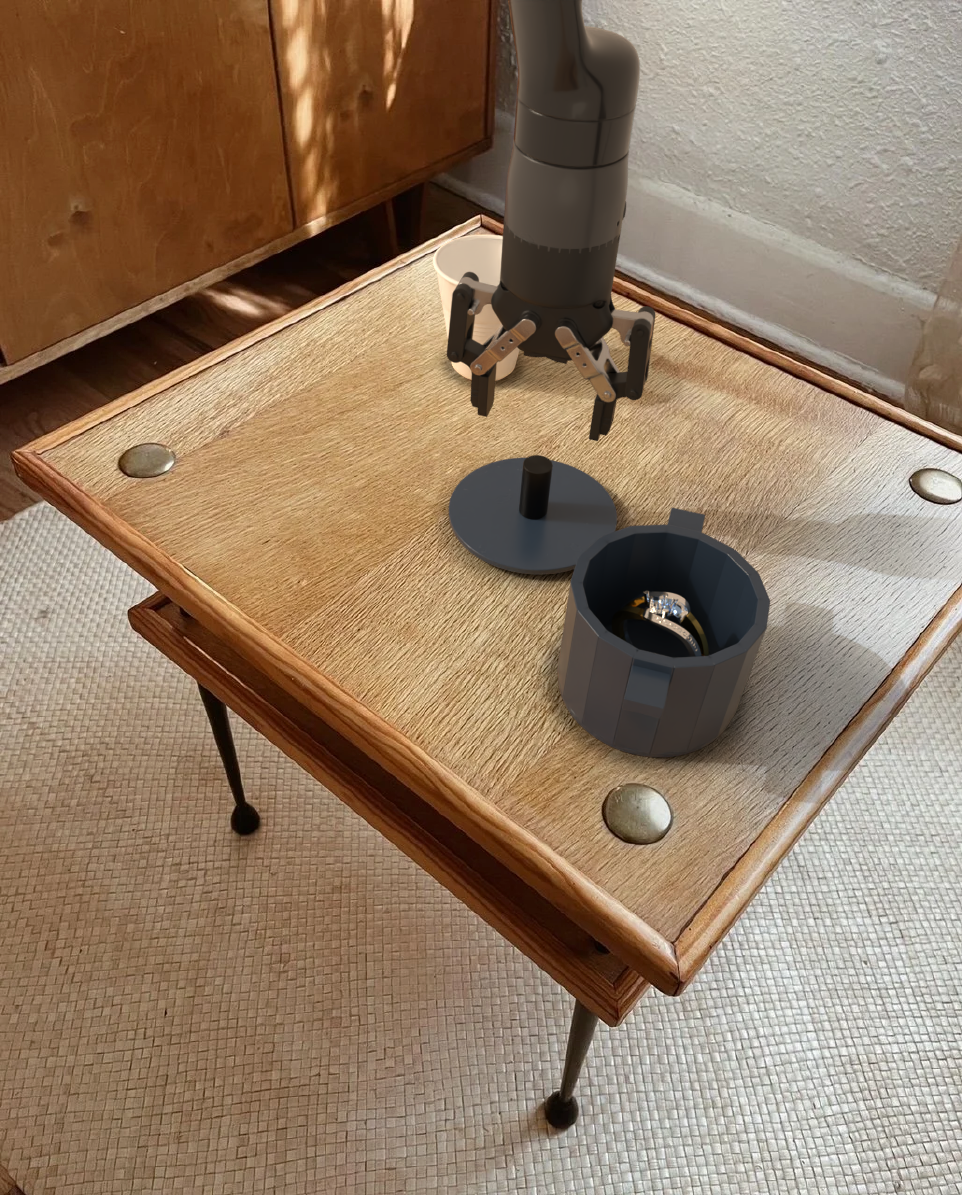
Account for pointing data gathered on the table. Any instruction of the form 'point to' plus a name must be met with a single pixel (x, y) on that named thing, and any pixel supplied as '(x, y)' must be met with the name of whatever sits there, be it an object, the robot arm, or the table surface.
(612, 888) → the table surface
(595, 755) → the table surface
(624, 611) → the ring
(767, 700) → the table surface
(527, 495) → the lid
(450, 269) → the cup
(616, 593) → the pot
